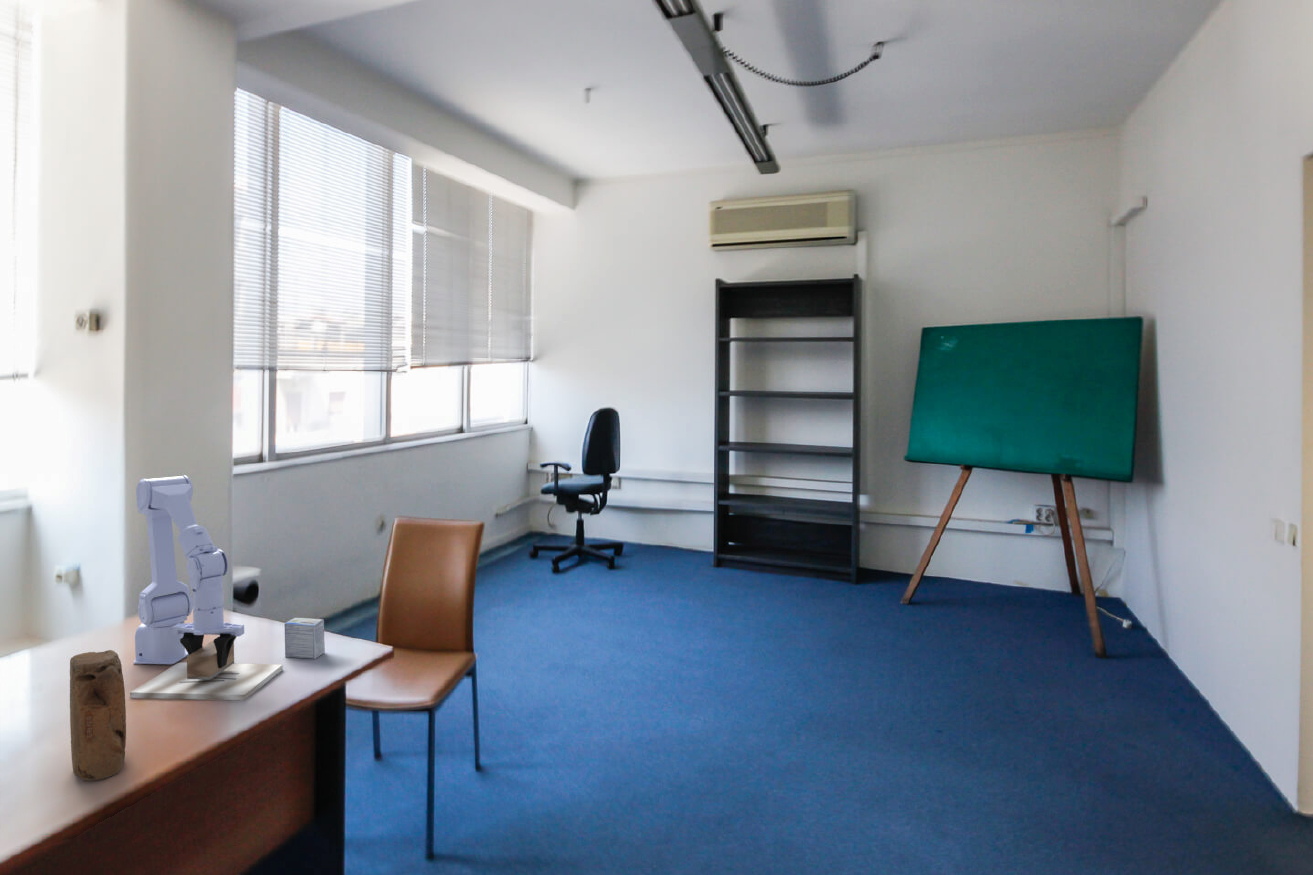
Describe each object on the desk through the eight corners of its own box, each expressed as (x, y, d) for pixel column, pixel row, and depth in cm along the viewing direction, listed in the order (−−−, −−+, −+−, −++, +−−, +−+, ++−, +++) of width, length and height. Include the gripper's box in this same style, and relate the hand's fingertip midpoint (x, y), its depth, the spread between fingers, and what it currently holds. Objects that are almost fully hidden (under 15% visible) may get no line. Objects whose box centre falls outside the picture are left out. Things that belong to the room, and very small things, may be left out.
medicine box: (325, 652, 179) (325, 618, 179) (315, 659, 175) (314, 624, 174) (295, 650, 180) (294, 616, 179) (284, 657, 176) (283, 622, 175)
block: (71, 762, 127) (66, 652, 125) (123, 749, 132) (119, 643, 130) (74, 790, 119) (69, 672, 117) (130, 774, 124) (126, 662, 122)
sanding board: (129, 697, 152) (129, 691, 152) (179, 667, 168) (178, 662, 168) (244, 700, 153) (244, 694, 152) (282, 669, 169) (282, 664, 168)
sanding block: (187, 678, 156) (186, 656, 156) (212, 662, 165) (211, 641, 165) (210, 679, 156) (209, 657, 156) (234, 663, 165) (233, 641, 165)
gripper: (162, 611, 155) (164, 672, 156) (231, 613, 155) (232, 674, 156) (184, 601, 162) (185, 659, 163) (249, 602, 162) (250, 661, 163)
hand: (209, 665), depth 160 cm, fingers closed on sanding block, 5 cm apart
